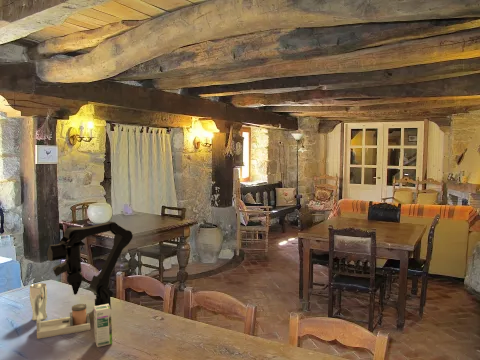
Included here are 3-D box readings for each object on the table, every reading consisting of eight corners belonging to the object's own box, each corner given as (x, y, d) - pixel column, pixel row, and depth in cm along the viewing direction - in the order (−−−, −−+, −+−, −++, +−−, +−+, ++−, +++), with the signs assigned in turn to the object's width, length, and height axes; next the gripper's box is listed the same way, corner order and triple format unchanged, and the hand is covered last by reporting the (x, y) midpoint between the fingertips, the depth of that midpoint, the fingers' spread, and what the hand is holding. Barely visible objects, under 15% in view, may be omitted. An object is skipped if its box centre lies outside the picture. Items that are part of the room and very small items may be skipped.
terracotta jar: (86, 320, 180) (86, 302, 179) (87, 326, 174) (86, 307, 174) (72, 323, 178) (71, 305, 177) (72, 328, 172) (71, 310, 171)
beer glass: (35, 323, 179) (34, 289, 178) (27, 319, 183) (26, 286, 182) (51, 317, 185) (49, 285, 183) (43, 314, 189) (41, 281, 187)
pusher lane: (88, 319, 183) (88, 306, 182) (90, 329, 172) (89, 315, 172) (38, 327, 175) (37, 313, 174) (37, 338, 165) (36, 324, 164)
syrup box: (97, 347, 157) (95, 310, 156) (94, 341, 162) (93, 305, 161) (112, 344, 160) (111, 308, 159) (109, 338, 165) (108, 302, 164)
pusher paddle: (72, 321, 179) (72, 312, 178) (73, 329, 171) (72, 319, 171) (62, 322, 177) (62, 313, 177) (62, 330, 170) (62, 321, 169)
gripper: (54, 253, 188) (55, 286, 189) (53, 264, 171) (54, 301, 172) (80, 250, 192) (81, 283, 194) (82, 261, 175) (83, 297, 177)
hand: (75, 291), depth 184 cm, fingers open, 9 cm apart
